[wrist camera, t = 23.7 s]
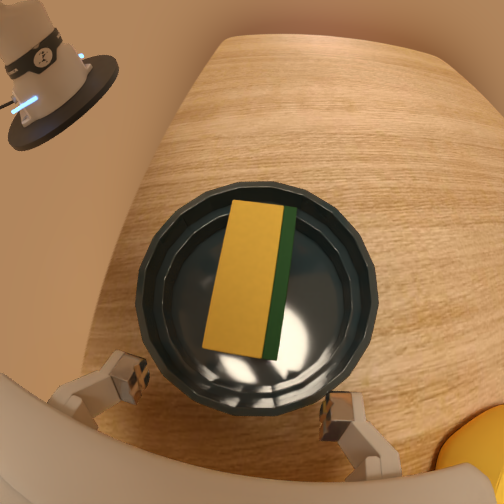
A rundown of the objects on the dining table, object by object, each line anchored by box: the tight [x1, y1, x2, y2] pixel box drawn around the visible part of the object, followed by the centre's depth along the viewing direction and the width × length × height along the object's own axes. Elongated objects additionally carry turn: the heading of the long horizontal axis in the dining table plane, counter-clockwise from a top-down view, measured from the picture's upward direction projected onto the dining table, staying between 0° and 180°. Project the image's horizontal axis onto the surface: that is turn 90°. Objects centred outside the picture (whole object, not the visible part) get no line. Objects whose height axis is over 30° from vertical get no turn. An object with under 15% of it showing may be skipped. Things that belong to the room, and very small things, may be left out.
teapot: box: [435, 404, 504, 504], centre depth 10 cm, size 22×16×11 cm
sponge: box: [202, 200, 297, 361], centre depth 19 cm, size 4×9×8 cm, turn 171°
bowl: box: [135, 181, 379, 416], centre depth 21 cm, size 17×17×5 cm
